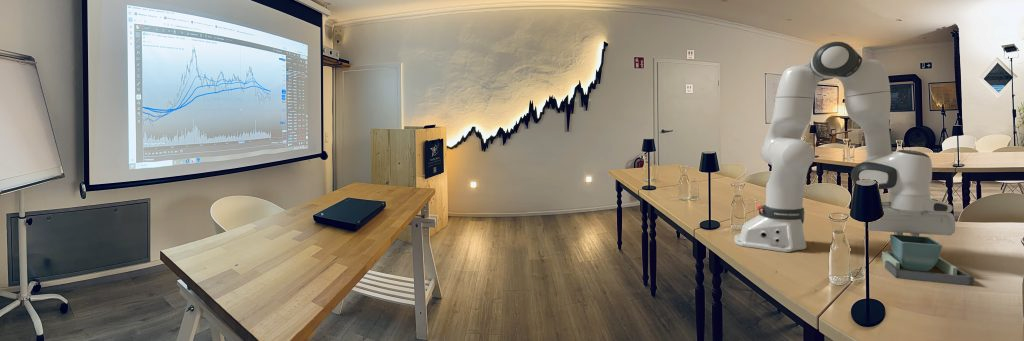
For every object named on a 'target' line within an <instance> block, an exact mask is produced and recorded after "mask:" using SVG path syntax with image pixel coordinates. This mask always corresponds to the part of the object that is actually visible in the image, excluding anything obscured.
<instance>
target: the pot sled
mask: <svg viewBox="0 0 1024 341" xmlns="http://www.w3.org/2000/svg"><path fill="white" fill-rule="evenodd" d="M881 261H882V262H883V263H884V264H885V261H890V262H891V263H892V264H893V265H894V266H895V267H897V268H898V269H899V270H900V267H901V266H900V263H899V262H898V261H897V260H896V259H895V258H894V256H893V254H892V251H887V250H886V251H885V250H883V251H881ZM934 267H936V268H937V269H939V270H940V271H941V272H943V273H944V274H950V275H957V267H958V266H955V265H954V264H952V263H951V262H948V260H946V259H944V258H943V257H941V256H939V258H938V261H937V263H936V264H935V266H934Z"/></svg>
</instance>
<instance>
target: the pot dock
mask: <svg viewBox="0 0 1024 341" xmlns="http://www.w3.org/2000/svg"><path fill="white" fill-rule="evenodd" d="M956 267H957V275H950V274H946V273H938V272H929V271H928V272H926V271H915V270H906V269H900V268H899V269H898V268H897V267H895V266H894V265H893V264H892V263H891V262H890V261H885V263H884V269H885V270H887V271H888V273H890V274H891V275H892V276H893V277H895V278H896V279H904V280H911V281H912V280H913V281H921V282H922V281H923V282H931V283H939V284H940V283H941V284H950V285H951V284H952V285H961V286H962V285H963V286H969V287H970V286H972V287H973V286H974V277H973V276H972V275H970V274H968V273H967V272H966V271H964V270H962V269H961V268H959V267H958V266H956Z"/></svg>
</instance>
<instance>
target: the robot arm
mask: <svg viewBox="0 0 1024 341" xmlns="http://www.w3.org/2000/svg"><path fill="white" fill-rule="evenodd" d="M832 79H837V80H839V81H840V82H841V84H842V87H843V94H844V95H843V98H844V106H845V109H846V113H847V116H848V117H849V118H850V120H852V121H853V122H854V123H855V124H856V125H858V126H859V127H860V128H861V130H862V132H863V135H864V143H865V150H866V159H865V161H861V162H859V163H858V164H856V165H855V166H854V167H853V168H852V170H851V172H850V178H851V181H852V182H853V184H854V183H855V182H856V181H857V180H862V179H870V180H876V181H877V182H878V184H879V189H878V190H889V198H888V199H889V201H881V202H882V206H883V211H884V216H883V217H882V218H881V219H880V220H878V221H874V222H870V223H869V226H868V228H869V230H868V231H872V232H883V233H884V232H886V233H890V232H891V233H894V235H904V234H910V235H909V236H920V234H921V235H933V236H934V235H939V236H952V235H953V234H955V233H956V232H955V231H956V219H955V216H954V214H953V213H951V212H952V211H953V209H954V208H953V205H952V204H949V203H947V202H944V201H941V200H938V199H935V198H932V197H931V191H930V186H931V182H932V179H933V164H932V159H931V157H930V156H929V155H928V154H927V153H925V152H923V151H922V152H921V151H917V150H911V149H907V150H906V149H898V150H896V151H894V152H893V147H892V146H893V145H892V139H891V132H890V131H891V130H890V116H891V115H890V114H891V101H892V100H891V97H892V96H891V85H890V79H889V74H888V72H887V69H886V66H885V64H884V63H883V61H880V60H879V59H878V60H877V59H872V58H871V59H870V58H869V59H863V57H862V55H860V54H859V53H858V52H857V51H856V49H854V48H853V46H852V45H850V44H848V43H847V42H843V41H830V42H827V43H825V44H823V45H822V46H820V47H819V48H818V49H817V50H816V51H815V52H814V53H813V54H812V56H811V57H810V59H809V60H808V62H807V63H805V64H801V65H799V64H798V65H792V66H790V67H788V68H786V69H785V70H784V71H783V72H782V75H781V77H780V79H779V83H778V86H777V88H776V89H777V90H776V95H775V99H774V104H773V105H774V106H773V111H772V117H771V121H770V125H769V128H768V130H767V133H766V136H765V138H764V142H763V144H761V146H760V149H759V150H760V152H759V153H760V156H761V157H762V159H763V161H765V163H766V164H768V165H770V166H771V171H770V175H769V178H768V181H767V183H766V184H765V185H766V186H765V204H764V205H762V204H757V205H756V208H757V210H758V215H755V217H752V218H751V219H749V220H748V221H746V222H744V223H743V225H742V227H741V231H740V233H738V234H735V235H734V238H733V241H734V242H735V244H736V245H738V246H740V247H747V248H753V249H762V250H769V251H776V252H783V253H791V252H794V251H800V250H805V249H807V248H808V245H807V243H806V239H805V234H804V225H803V224H804V223H805V222H804V221H805V207H803V206H804V204H803V203H804V188H805V183H806V179H807V175H808V172H809V168H810V166H811V165H812V164H813V162H814V161H815V158H816V153H815V149H814V148H813V146H812V145H810V144H809V143H808V142H806V141H805V140H802V137H803V135H804V131H805V130H806V129H807V127H808V125H809V124H810V123H811V119H812V113H813V108H814V103H815V102H814V101H815V94H816V91H817V86H818V84H819V83H821V82H824V81H828V80H832ZM863 226H864V228H865V223H864V222H863Z"/></svg>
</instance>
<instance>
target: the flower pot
mask: <svg viewBox="0 0 1024 341" xmlns="http://www.w3.org/2000/svg"><path fill="white" fill-rule="evenodd" d="M889 236H890V237H889V238H890V249H891V252H892V254H893V256H894V258H895V259H896V260H897V261H898V262H899V263H900V267H901V268H902V270H908V271H918V272H929V271H930V270H932V269H933V268H934V267H936V266H935V264H936V263H937V261H938V258H939V257H940V255H941V252H942V251H941V250H942V248H943V244H941V243H939V242H937V241H936V240H934V239H932V238H930V237H929V236H921V235H919V236H912V235H908V234H907V235H905V234H903V235H895V234H889Z"/></svg>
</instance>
